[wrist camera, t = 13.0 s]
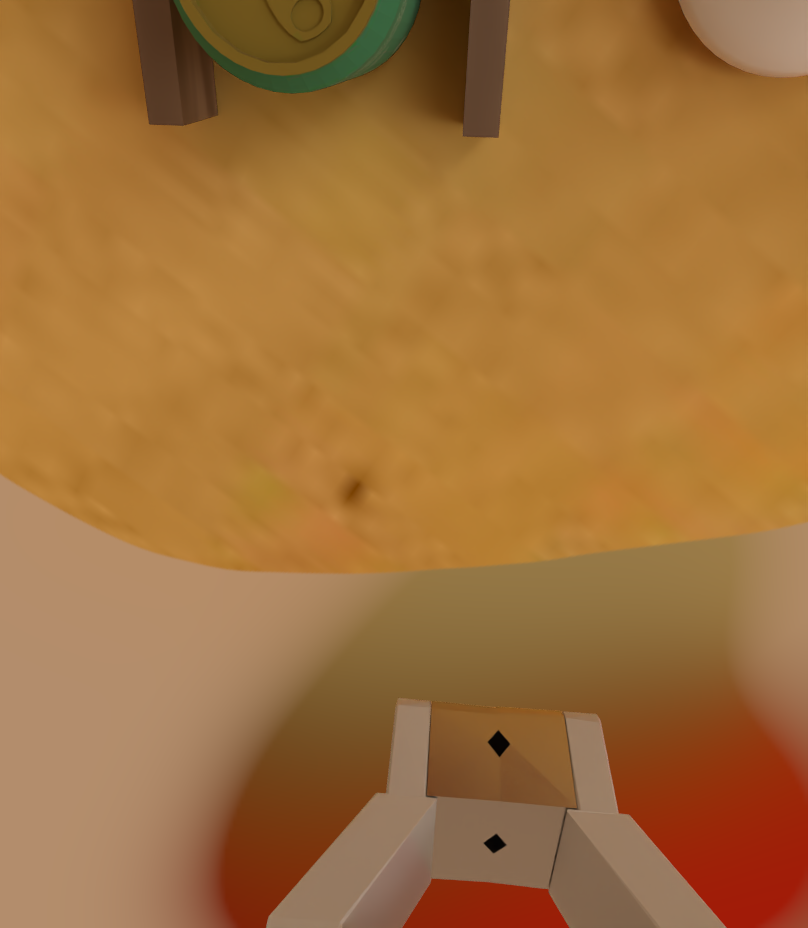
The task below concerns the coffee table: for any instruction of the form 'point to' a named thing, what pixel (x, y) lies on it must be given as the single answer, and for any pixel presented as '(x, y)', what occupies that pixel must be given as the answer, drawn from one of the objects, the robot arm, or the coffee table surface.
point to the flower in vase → (754, 33)
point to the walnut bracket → (193, 85)
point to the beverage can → (298, 38)
